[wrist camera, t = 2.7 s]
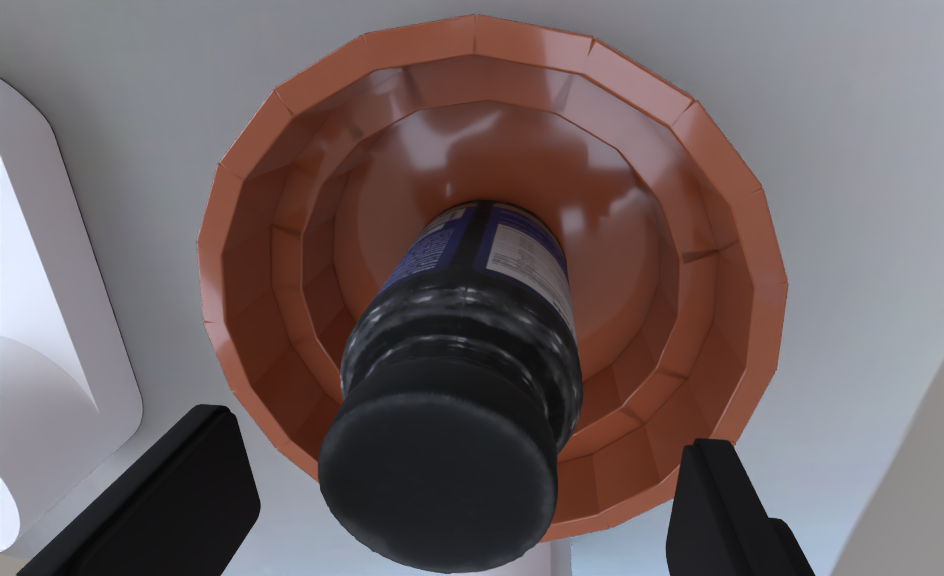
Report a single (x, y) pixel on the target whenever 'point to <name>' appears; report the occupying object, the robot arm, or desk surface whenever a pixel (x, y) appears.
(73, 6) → the desk surface
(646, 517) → the desk surface
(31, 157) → the bracket
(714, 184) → the bowl
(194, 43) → the desk surface
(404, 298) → the pill bottle
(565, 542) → the eye dropper bottle
